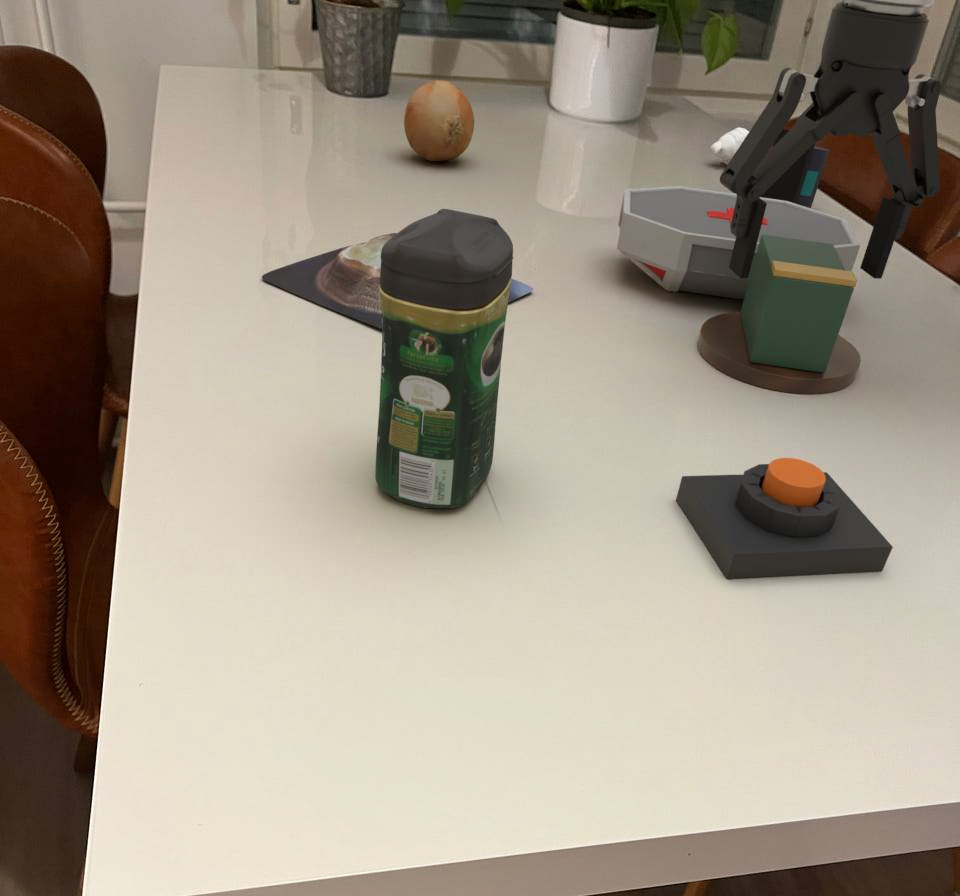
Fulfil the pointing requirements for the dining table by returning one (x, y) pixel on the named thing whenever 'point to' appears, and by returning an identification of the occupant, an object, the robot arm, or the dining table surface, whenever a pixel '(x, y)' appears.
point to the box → (795, 303)
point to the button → (793, 482)
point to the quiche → (348, 280)
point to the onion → (439, 121)
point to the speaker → (800, 177)
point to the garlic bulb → (729, 144)
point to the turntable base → (730, 356)
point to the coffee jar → (441, 356)
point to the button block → (779, 529)
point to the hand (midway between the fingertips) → (805, 273)
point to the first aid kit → (712, 236)
